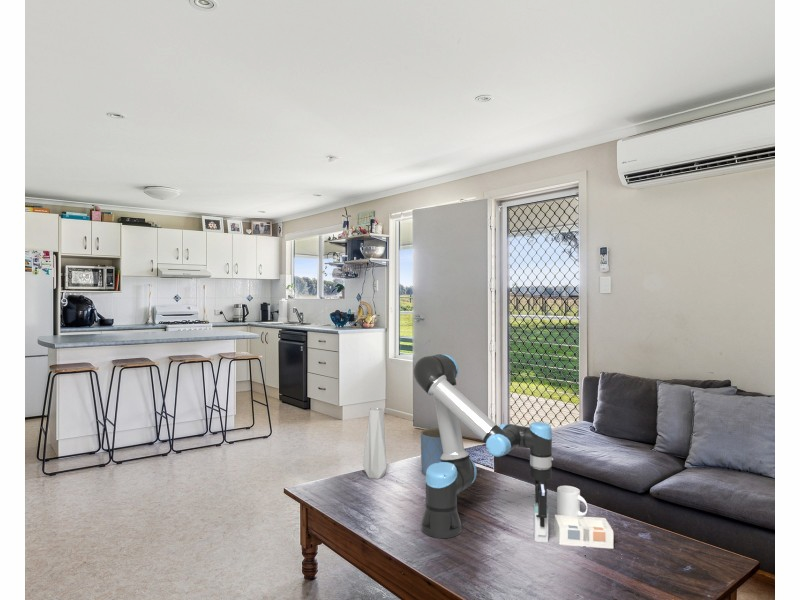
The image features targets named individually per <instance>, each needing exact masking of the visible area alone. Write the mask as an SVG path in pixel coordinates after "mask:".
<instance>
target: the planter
mask: <svg viewBox="0 0 800 600" xmlns="http://www.w3.org/2000/svg"><path fill="white" fill-rule="evenodd" d="M442 454H443V449H442V443H441V437H440V432H439V427H437V428H433V427H432V428H427V429H423V430H421V431H420V459H421V471H422V474H423V475H424V476H425V477H426V470H427V468H428V467H429V466H430V465H432V464H434V463H439V462H441V460H440V457H441V456H442Z"/></svg>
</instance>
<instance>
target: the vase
mask: <svg viewBox="0 0 800 600" xmlns="http://www.w3.org/2000/svg"><path fill="white" fill-rule="evenodd" d="M385 434H386V432H385V414H384V408H380V407H371V408H370V409H369V413H368V421H367V428H366V436H365V443H364V451H363V458H362V468H363V470H364V471H365V474H366V475H367V477H368V479H373V480H375V479H376V480H378V479H381V478H383V477H385V474H386V471H387V454H386V452H387V451H386V450H387V448H386V447H387V446H386V435H385Z"/></svg>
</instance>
